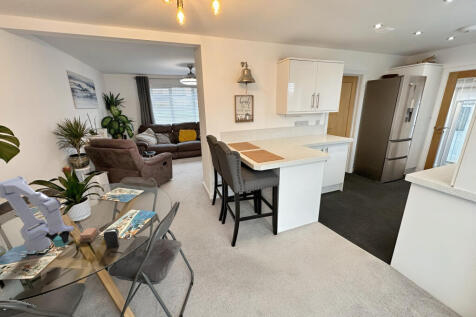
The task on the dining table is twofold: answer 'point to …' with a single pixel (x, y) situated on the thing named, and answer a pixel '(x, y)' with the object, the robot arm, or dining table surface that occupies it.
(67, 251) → the dining table surface
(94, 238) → the tower base
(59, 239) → the teal block
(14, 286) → the dining table surface
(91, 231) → the tower top
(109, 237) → the battery
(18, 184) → the robot arm
